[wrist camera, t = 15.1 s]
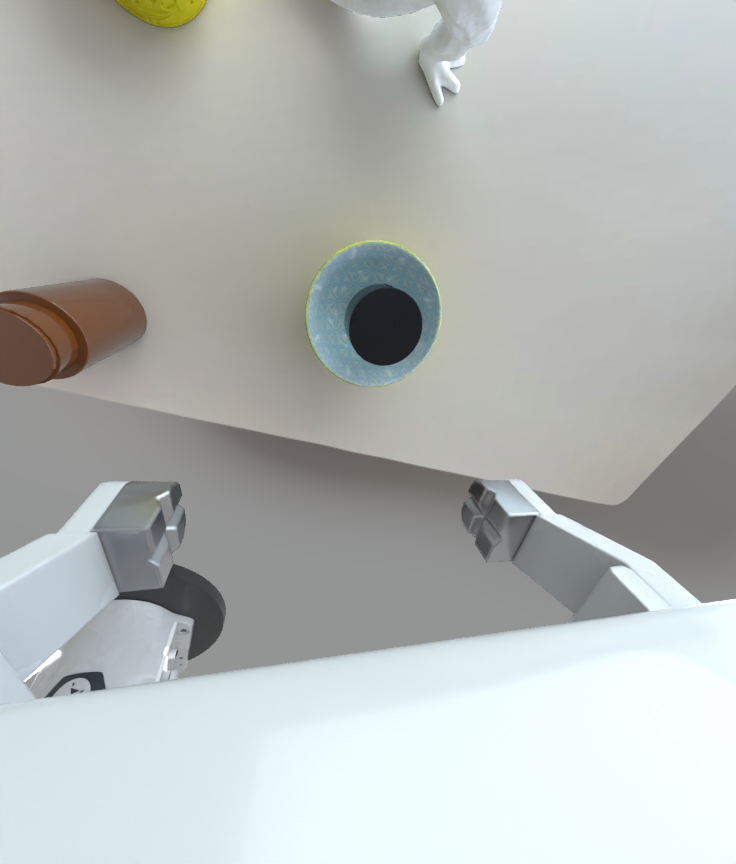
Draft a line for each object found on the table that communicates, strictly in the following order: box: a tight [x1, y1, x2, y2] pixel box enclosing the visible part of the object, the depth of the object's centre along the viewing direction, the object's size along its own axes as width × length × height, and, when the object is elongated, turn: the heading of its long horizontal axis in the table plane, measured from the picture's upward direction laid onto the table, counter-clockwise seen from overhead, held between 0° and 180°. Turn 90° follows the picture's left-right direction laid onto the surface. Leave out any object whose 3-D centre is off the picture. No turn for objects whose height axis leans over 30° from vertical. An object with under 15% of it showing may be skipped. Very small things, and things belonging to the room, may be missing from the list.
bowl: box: [305, 240, 442, 387], centre depth 28 cm, size 11×12×6 cm
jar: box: [0, 279, 146, 386], centre depth 22 cm, size 5×5×12 cm
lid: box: [344, 283, 423, 366], centre depth 24 cm, size 6×6×3 cm
